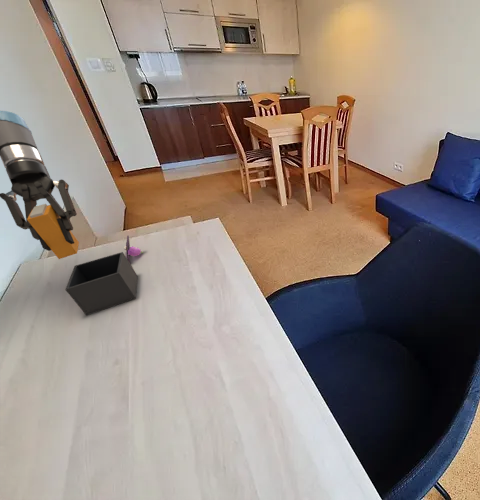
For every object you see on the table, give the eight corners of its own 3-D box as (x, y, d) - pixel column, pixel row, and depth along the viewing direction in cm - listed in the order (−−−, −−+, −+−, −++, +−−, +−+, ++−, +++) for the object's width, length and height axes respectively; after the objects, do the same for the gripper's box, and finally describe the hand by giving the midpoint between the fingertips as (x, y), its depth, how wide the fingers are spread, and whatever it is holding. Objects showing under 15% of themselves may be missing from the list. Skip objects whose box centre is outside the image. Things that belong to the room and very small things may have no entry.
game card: (124, 235, 106) (123, 247, 100) (142, 235, 109) (142, 246, 102) (126, 252, 109) (125, 264, 102) (143, 251, 112) (143, 263, 105)
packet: (58, 259, 79) (24, 217, 72) (61, 247, 84) (30, 207, 77) (77, 253, 81) (45, 211, 74) (79, 242, 86) (49, 202, 78)
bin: (86, 315, 84) (65, 289, 78) (93, 290, 93) (74, 265, 87) (135, 298, 88) (119, 272, 83) (137, 276, 97) (122, 251, 92)
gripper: (72, 166, 87) (103, 237, 85) (-7, 183, 79) (25, 262, 77) (58, 151, 80) (92, 228, 78) (-30, 168, 73) (5, 254, 71)
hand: (59, 245), depth 78 cm, fingers closed on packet, 4 cm apart
